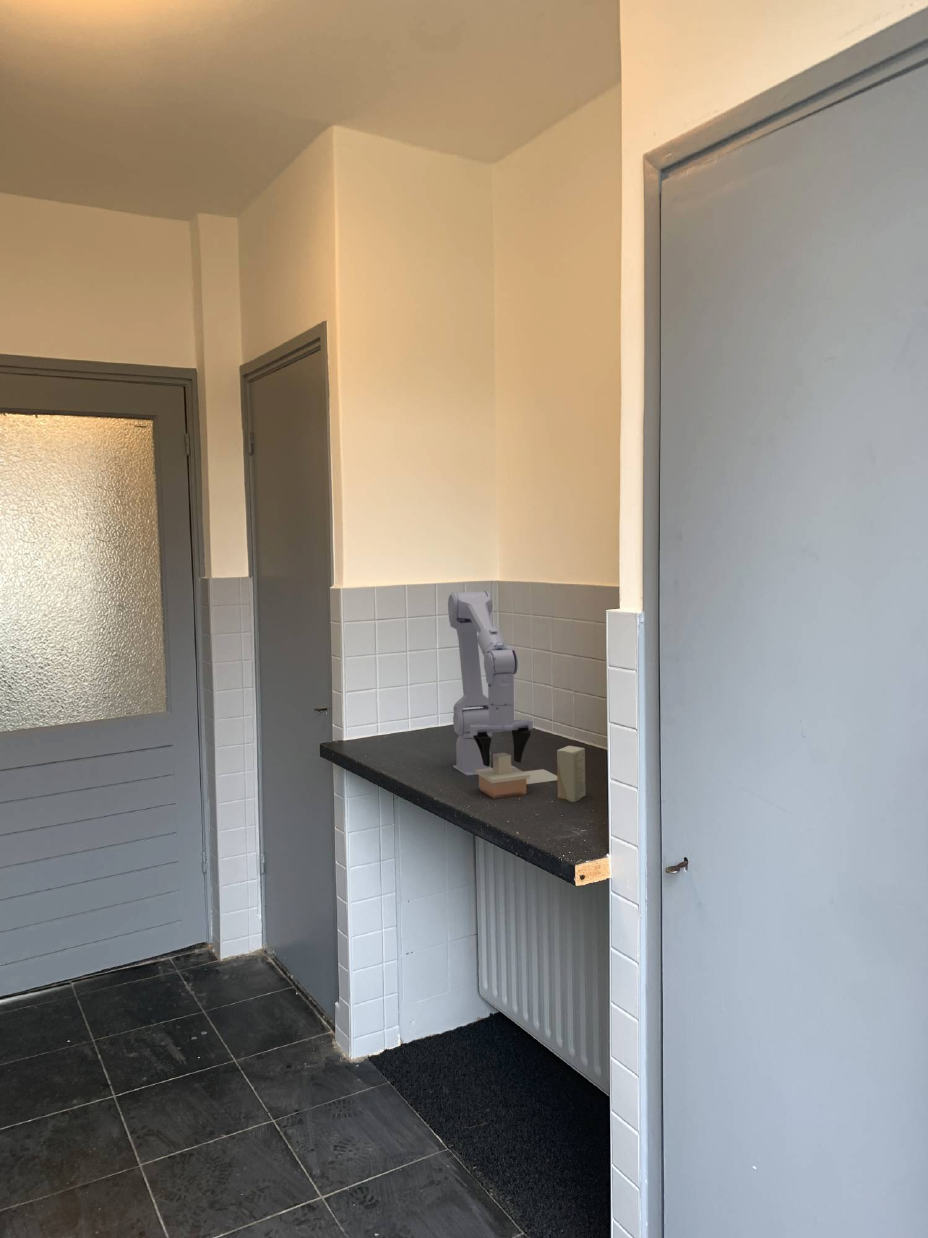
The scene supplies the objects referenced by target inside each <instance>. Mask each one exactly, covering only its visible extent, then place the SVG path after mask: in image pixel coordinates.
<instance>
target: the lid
mask: <svg viewBox="0 0 928 1238" xmlns="http://www.w3.org/2000/svg"><path fill="white" fill-rule="evenodd" d="M492 758H493V759H492V763H493V764H492V765H493V767H492V768H487V769H479V770H476V775H478V777H479V776H481V777H483V778H484V779H486V780H488V781H489V782H491V783H498V782H505V781H513V780H520V779H528V778H529V774H527V773H525V772H526V771H523V770H521V769H519V768H518V767H516V766H514V765H512V755H511V754H508V753H506V752H500V753H499V752H498V753H493V754H492Z"/></svg>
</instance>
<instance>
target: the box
mask: <svg viewBox="0 0 928 1238" xmlns="http://www.w3.org/2000/svg"><path fill="white" fill-rule="evenodd" d="M556 765H557V767H556V768H557V769H556V770H557V772H556V773H557V774H556V776H557V780H556V782H557V798H558V799H563V800H565V801H566V802H570V803H576V802H577V801H579V800H581V799H583V798H584V797H586V749H585V748H584V747H579V746H575V745H574V746H573V745H567V746H565V747H562V748H559V749H557V750H556Z"/></svg>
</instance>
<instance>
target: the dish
mask: <svg viewBox="0 0 928 1238" xmlns="http://www.w3.org/2000/svg"><path fill="white" fill-rule="evenodd" d="M478 789H479V791H481V792H482V793H484V794H486V795H487V796H489V797H490V798H492V799H493V800H494V799H502V798H508V797H509V798H510V797H515V796H524V795H527V784H526V779H520V780H513V781H505V782H498V783H491V782H489V781H488V780H486V779H484V778H483V777H481V776H479V775H478Z"/></svg>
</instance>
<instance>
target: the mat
mask: <svg viewBox="0 0 928 1238" xmlns="http://www.w3.org/2000/svg"><path fill="white" fill-rule="evenodd" d="M524 772H525V773H527V774H529V778H528V779H526V785H530V784H531V785H532V784H539V783H546V782H552V781H557V774H554V773H552V772H550V771H548V770H546V769H544V768H542V769H541V768H540V769H536V770H535V769H533V770H525V771H524Z"/></svg>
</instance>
